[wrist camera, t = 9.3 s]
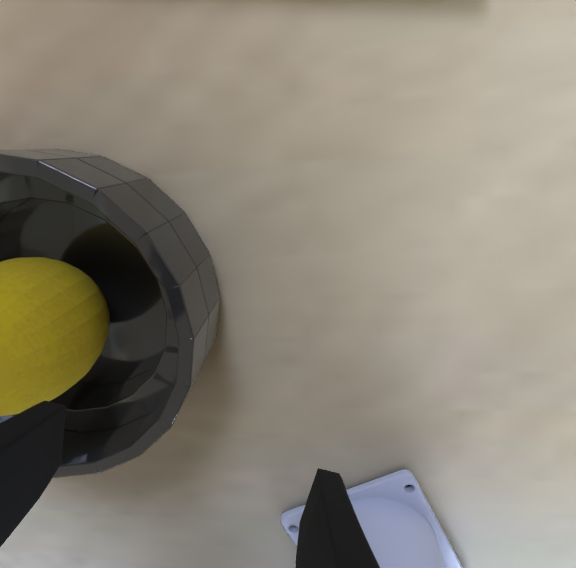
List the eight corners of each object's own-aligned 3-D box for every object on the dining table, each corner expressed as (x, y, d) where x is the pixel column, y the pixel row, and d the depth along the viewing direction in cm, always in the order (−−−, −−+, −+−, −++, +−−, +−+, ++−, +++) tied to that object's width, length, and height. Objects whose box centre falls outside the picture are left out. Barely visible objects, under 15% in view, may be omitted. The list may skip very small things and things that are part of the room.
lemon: (123, 233, 19) (-6, 292, 11) (148, 343, 21) (52, 459, 13) (9, 243, 19) (-188, 308, 12) (43, 350, 21) (-109, 467, 14)
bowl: (269, 347, 21) (256, 407, 16) (64, 440, 23) (1, 515, 19) (119, 92, 17) (46, 72, 13) (-101, 234, 20) (-229, 261, 15)
